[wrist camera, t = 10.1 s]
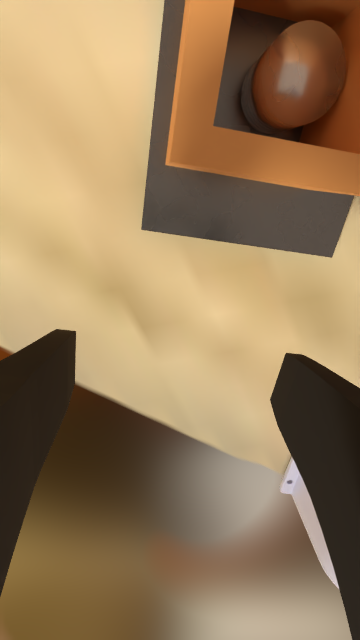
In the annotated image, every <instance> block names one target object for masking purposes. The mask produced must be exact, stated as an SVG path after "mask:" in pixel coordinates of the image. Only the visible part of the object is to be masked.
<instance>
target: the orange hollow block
mask: <svg viewBox="0 0 360 640" xmlns="http://www.w3.org/2000/svg"><path fill="white" fill-rule="evenodd" d="M233 6H234V7H238V8H242V9H246V10H250V11H254V12H258V13H263V14H267V15H271V16H275V17H279V18H283V19H287V20H291V21H295V22H301V21H305V20H315V21H319V22H322V23H324V24H326V25H328V26H329V27H331V28H332V29H333V30H334V31H335V32H336V34H337V35H338V37H339V38H340V40H341V42H342V45H343V48H344V51H345V57H346V73H345V79H344V83H343V86H342V89H341V92H340V94H339V96H338V98H337V99H336V101H335V103H334V104H333V105H332V107H331V108H330V109H329V110H328V111H327V112H326V113H325V114H324V115H323V116H322V117H320V118H319V119H317V120H315V121H313V122H311V123H308V124H305V125H304V126H303V129H302V133H301V137H300V140H299V142H294V141H288V140H283V139H278V138H273V137H268V136H262V135H257V134H252V133H247V132H242V131H236V130H231V129H226V128H221V127H216V126H213V124H214V118H215V112H216V106H217V100H218V95H219V89H220V83H221V77H222V71H223V65H224V59H225V53H226V48H227V42H228V36H229V30H230V24H231V18H232V12H233ZM165 165H168V166H174V167H180V168H186V169H192V170H197V171H203V172H209V173H215V174H220V175H226V176H232V177H238V178H243V179H249V180H255V181H261V182H266V183H272V184H278V185H284V186H289V187H295V188H301V189H307V190H314V191H323V192H331V193H339V194H348V195H356V196H360V0H185V7H184V15H183V24H182V32H181V40H180V48H179V56H178V64H177V73H176V81H175V89H174V97H173V105H172V114H171V122H170V130H169V138H168V146H167V154H166V163H165Z"/></svg>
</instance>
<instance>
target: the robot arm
mask: <svg viewBox="0 0 360 640" xmlns="http://www.w3.org/2000/svg"><path fill="white" fill-rule="evenodd" d="M75 351H76V331H69V330H59V329H56V330H54V331H52V332H50V333H49V334H47V335H45V336H43V337H42V338H40V339H38V340H37V341H35V342H33V343H32V344H30V345H28V346H27V347H25V348H23V349H21V350H20V351H18V352H16V353H14V354H13V355H11V356H9V357H7V358H5V359H3V360H1V361H0V596H1V592H2V589H3V586H4V582H5V579H6V575H7V572H8V569H9V565H10V562H11V559H12V555H13V552H14V549H15V545H16V542H17V539H18V536H19V533H20V530H21V526H22V523H23V519H24V517H25V514H26V511H27V507H28V505H29V501H30V498H31V495H32V492H33V489H34V486H35V483H36V481H37V478H38V476H39V473H40V471H41V468H42V466H43V464H44V462H45V459H46V457H47V455H48V453H49V450H50V448H51V446H52V444H53V441H54V439H55V437H56V434H57V432H58V430H59V427H60V425H61V423H62V421H63V418H64V416H65V414H66V411H67V409H68V405H69V402H70V399H71V395H72V391H73V388H74V384H75ZM270 401H271V404H272V408H273V412H274V415H275V418H276V421H277V425H278V427H279V429H280V432H281V434H282V436H283V438H284V440H285V443H286V445H287V447H288V449H289V451H290V453H291V456H292V457H291V459H290V462H289V464H288V467H287V469H286V472H285V474H284V476H283V479H282V482H281V484H280V486H279V488H280V491H281V492H282V493H284V494H292V497H293V499H294V502H295V504H296V506H297V509H298V511H299V513H300V516H301V518H302V521H303V523H304V525H305V528H306V530H307V533H308V535H309V537H310V539H311V542H312V544H313V547H314V549H315V552H316V554H317V556H318V559H319V561H320V563H321V565H322V567H323V569H324V571H325V572H326V574H327V575H328V577H329V578H330V579H331V581H332V582H333V583H334V584H335V585H336V586H337V587H338V588H339V590H340V593H341V596H342V600H343V604H344V607H345V611H346V615H347V619H348V623H349V627H350V632H351V636H352V640H360V388H359V387H357V386H355V385H354V384H352V383H350V382H349V381H347V380H345V379H344V378H342V377H341V376H339V375H337V374H336V373H334V372H333V371H331V370H329V369H328V368H326V367H324V366H323V365H321V364H319V363H318V362H316V361H314V360H312V359H310V358H308V357H306V356H304V355H301V354H291V353H286V354H285V357H284V360H283V363H282V366H281V369H280V372H279V375H278V378H277V381H276V384H275V387H274V390H273V393H272V396H271V399H270Z"/></svg>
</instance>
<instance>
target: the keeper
mask: <svg viewBox="0 0 360 640" xmlns="http://www.w3.org/2000/svg"><path fill="white" fill-rule="evenodd" d="M184 7H185V0H165V3H164V13H163V22H162V32H161V42H160V52H159V62H158V71H157V81H156V91H155V101H154V111H153V120H152V130H151V140H150V150H149V160H148V169H147V179H146V189H145V199H144V209H143V219H142V228H141V230H147V231H154V232H161V233H168V234H175V235H181V236H188V237H195V238H202V239H209V240H216V241H222V242H229V243H236V244H243V245H250V246H257V247H264V248H270V249H277V250H284V251H291V252H298V253H305V254H311V255H318V256H325V257H332V256H333V253H334V251H335V248H336V245H337V242H338V239H339V237H340V234H341V231H342V228H343V225H344V222H345V220H346V217H347V214H348V211H349V208H350V206H351V203H352V200H353V197H354V195H348V194H339V193H331V192H323V191H314V190H307V189H301V188H295V187H289V186H284V185H278V184H272V183H266V182H261V181H255V180H249V179H243V178H238V177H232V176H226V175H220V174H215V173H209V172H203V171H197V170H192V169H186V168H180V167H174V166H168V165H165V163H166V154H167V146H168V138H169V130H170V122H171V114H172V105H173V97H174V89H175V81H176V73H177V64H178V56H179V48H180V40H181V32H182V24H183V15H184ZM345 73H346V57H345V51H344V48H343V45H342V42H341V40H340V38H339V37H338V35H337V34H336V32H335V31H334V30H333V29H332V28H331V27H329V26H328V25H326V24H324V23H322V22H319V21H315V20H305V21H301V22H295V21H291V20H287V19H283V18H279V17H275V16H271V15H267V14H263V13H258V12H254V11H250V10H246V9H242V8H238V7H234V6H233V12H232V18H231V24H230V30H229V36H228V42H227V48H226V53H225V59H224V65H223V71H222V77H221V83H220V89H219V95H218V100H217V106H216V112H215V118H214V124H213V126H216V127H221V128H226V129H231V130H236V131H242V132H247V133H252V134H257V135H262V136H268V137H273V138H278V139H283V140H288V141H294V142H299V140H300V137H301V133H302V129H303V126H304V125H305V124H308V123H311V122H313V121H315V120H317V119H319V118H320V117H322V116H323V115H324V114H325V113H326V112H327V111H328V110H329V109H330V108H331V107H332V105H333V104H334V103H335V101H336V99H337V98H338V96H339V94H340V92H341V89H342V86H343V83H344V79H345Z"/></svg>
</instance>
